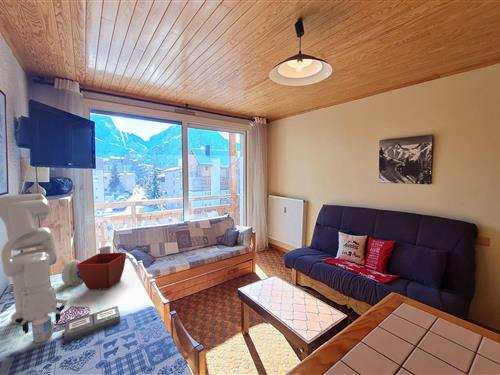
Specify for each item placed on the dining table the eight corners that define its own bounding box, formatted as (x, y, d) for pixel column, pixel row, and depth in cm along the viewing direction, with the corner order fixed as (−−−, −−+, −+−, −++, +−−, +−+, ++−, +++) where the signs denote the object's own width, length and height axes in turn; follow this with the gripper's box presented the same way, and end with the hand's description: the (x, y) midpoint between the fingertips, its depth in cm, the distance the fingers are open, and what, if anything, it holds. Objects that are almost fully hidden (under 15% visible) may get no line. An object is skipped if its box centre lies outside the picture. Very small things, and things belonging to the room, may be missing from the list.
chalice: (109, 270, 165) (107, 245, 164) (114, 272, 161) (112, 247, 160) (98, 274, 159) (96, 248, 157) (103, 276, 155) (101, 250, 154)
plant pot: (100, 277, 153) (98, 253, 152) (128, 277, 153) (126, 252, 151) (78, 292, 134) (75, 264, 133) (110, 292, 134) (107, 263, 132)
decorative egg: (76, 287, 141) (74, 263, 140) (57, 287, 142) (55, 263, 140) (91, 278, 153) (89, 256, 152) (73, 278, 154) (71, 256, 153)
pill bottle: (51, 330, 102) (48, 306, 101) (54, 336, 98) (51, 311, 97) (32, 338, 97) (29, 313, 96) (35, 345, 93) (32, 318, 92)
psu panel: (64, 341, 94) (64, 333, 94) (66, 329, 102) (65, 321, 102) (120, 321, 106) (120, 314, 106) (117, 311, 114) (117, 305, 114)
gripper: (6, 298, 88) (11, 341, 89) (64, 284, 98) (68, 322, 99) (11, 290, 94) (15, 331, 95) (65, 277, 104) (69, 314, 105)
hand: (42, 326), depth 97 cm, fingers open, 9 cm apart
